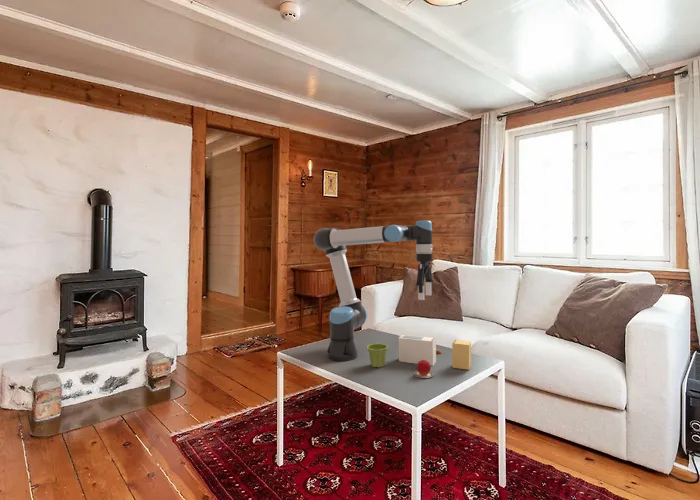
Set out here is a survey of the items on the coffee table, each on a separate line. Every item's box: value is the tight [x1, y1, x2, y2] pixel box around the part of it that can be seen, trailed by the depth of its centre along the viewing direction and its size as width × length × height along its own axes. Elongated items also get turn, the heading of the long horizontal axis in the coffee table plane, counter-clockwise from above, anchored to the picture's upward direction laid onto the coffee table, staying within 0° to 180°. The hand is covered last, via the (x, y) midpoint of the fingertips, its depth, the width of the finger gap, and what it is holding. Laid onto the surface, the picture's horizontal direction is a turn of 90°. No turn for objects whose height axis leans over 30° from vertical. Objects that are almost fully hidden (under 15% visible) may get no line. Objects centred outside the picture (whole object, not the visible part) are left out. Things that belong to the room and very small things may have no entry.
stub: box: [451, 339, 472, 371], centre depth 165 cm, size 7×6×11 cm
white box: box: [398, 334, 437, 367], centre depth 174 cm, size 16×6×11 cm, turn 64°
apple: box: [413, 360, 435, 379], centre depth 156 cm, size 8×8×6 cm
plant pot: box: [366, 343, 389, 368], centre depth 169 cm, size 9×9×9 cm
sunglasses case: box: [436, 347, 444, 356], centre depth 191 cm, size 18×7×7 cm
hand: (425, 297), depth 179 cm, fingers open, 13 cm apart
